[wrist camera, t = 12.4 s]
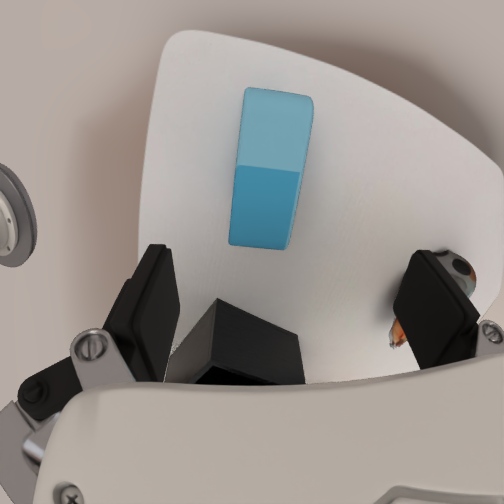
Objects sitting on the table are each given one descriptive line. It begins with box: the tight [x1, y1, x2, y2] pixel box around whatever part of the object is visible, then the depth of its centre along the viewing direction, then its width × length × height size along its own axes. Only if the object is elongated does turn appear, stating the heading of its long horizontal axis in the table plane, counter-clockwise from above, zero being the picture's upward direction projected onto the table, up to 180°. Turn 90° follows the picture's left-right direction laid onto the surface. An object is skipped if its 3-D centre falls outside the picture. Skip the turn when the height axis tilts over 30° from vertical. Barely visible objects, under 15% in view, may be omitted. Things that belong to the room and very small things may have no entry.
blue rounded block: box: [228, 87, 314, 250], centre depth 24 cm, size 12×4×12 cm, turn 173°
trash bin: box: [164, 298, 306, 386], centre depth 41 cm, size 15×18×11 cm
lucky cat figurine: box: [389, 250, 476, 349], centre depth 34 cm, size 15×12×14 cm
